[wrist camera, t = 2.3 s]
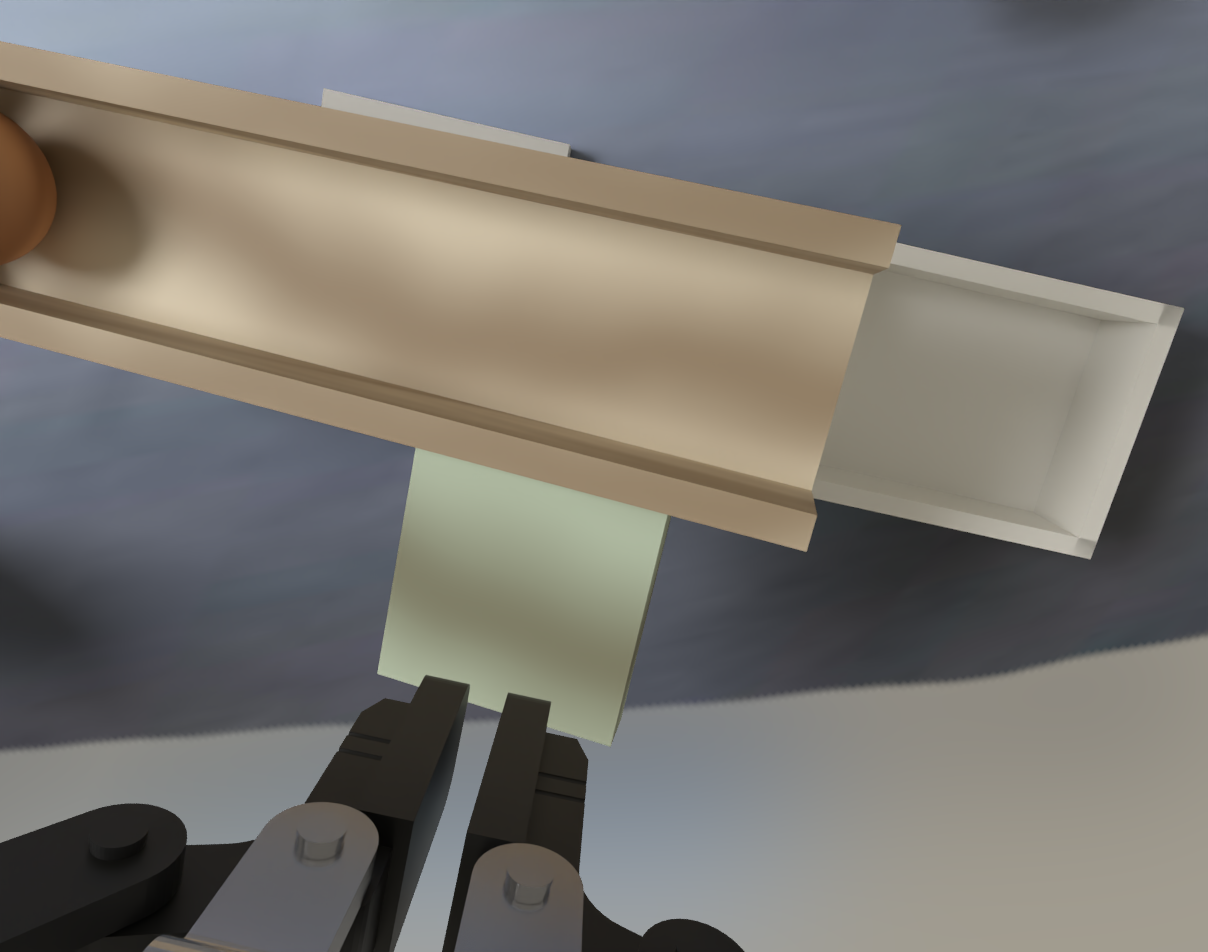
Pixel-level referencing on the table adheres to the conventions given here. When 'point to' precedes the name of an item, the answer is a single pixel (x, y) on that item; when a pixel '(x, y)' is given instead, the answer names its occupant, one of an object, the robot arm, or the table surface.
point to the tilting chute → (458, 343)
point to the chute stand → (438, 122)
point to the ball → (23, 192)
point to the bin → (992, 400)
